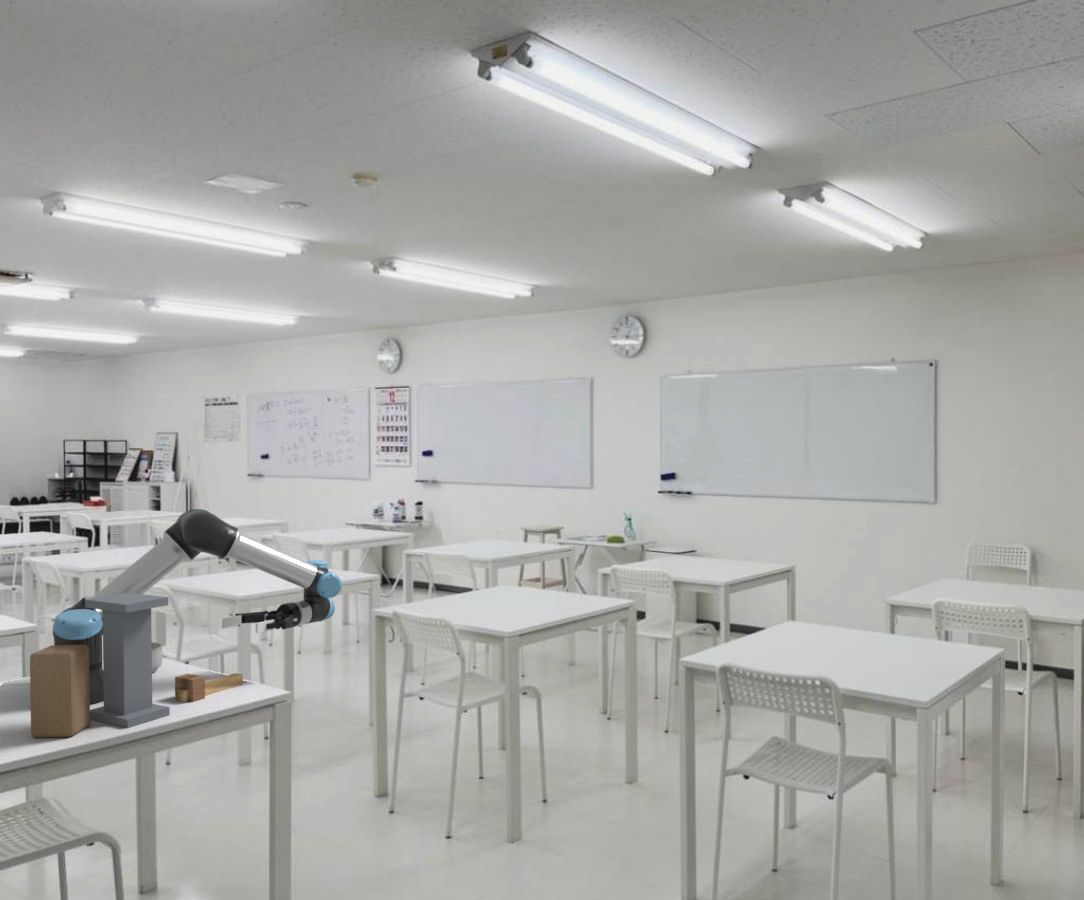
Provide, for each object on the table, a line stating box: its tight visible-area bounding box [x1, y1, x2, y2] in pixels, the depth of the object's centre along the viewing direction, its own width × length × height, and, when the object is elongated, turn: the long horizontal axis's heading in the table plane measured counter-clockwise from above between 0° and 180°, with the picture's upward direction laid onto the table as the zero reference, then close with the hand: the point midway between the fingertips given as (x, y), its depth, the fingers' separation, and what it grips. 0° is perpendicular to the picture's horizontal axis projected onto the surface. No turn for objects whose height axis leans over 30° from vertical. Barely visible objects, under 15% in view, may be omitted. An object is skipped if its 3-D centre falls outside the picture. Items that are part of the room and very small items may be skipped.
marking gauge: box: [174, 672, 244, 703], centre depth 255 cm, size 7×20×6 cm, turn 150°
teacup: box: [152, 641, 163, 673], centre depth 279 cm, size 14×11×8 cm
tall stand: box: [85, 593, 171, 729], centre depth 233 cm, size 16×12×30 cm
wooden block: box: [29, 644, 91, 739], centre depth 221 cm, size 10×10×20 cm
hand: (239, 625), depth 266 cm, fingers open, 13 cm apart
